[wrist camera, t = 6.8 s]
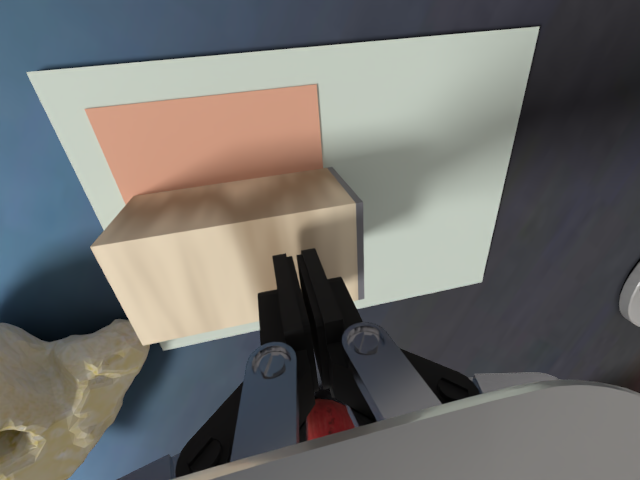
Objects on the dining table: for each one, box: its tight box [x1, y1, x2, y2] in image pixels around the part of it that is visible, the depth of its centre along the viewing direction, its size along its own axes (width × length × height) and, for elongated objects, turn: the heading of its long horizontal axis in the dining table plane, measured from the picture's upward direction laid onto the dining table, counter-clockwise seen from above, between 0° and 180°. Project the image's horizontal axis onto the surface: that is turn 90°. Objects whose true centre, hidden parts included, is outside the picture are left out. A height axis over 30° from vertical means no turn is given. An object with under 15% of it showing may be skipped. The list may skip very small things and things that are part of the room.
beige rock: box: [0, 319, 150, 480], centre depth 17 cm, size 15×7×15 cm
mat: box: [26, 26, 540, 351], centre depth 18 cm, size 23×16×1 cm
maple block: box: [90, 167, 364, 346], centre depth 15 cm, size 5×5×10 cm
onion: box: [307, 399, 355, 441], centre depth 24 cm, size 6×6×8 cm
